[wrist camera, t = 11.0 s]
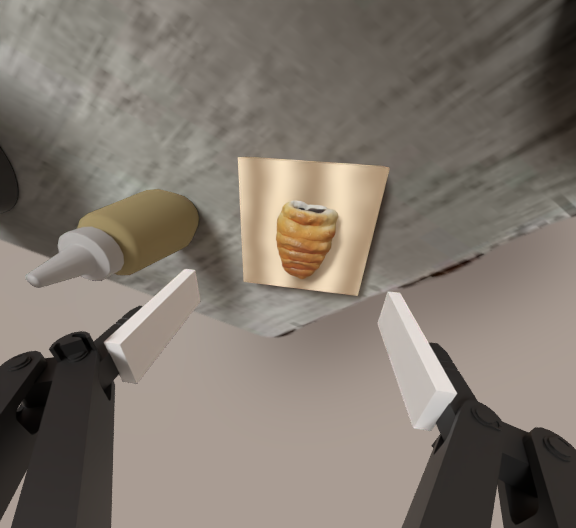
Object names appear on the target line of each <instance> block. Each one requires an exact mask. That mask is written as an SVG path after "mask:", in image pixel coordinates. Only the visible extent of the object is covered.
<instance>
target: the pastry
mask: <svg viewBox="0 0 576 528" xmlns="http://www.w3.org/2000/svg"><path fill="white" fill-rule="evenodd" d="M338 217H339V216H338V213H337V212H336V211H335V210H333V209H328V208H327V207H325V206H321V205H307V204H305V203H304V202H302V201H296V200H293V201H289V202H287V203H286V204H285V205H284V206H283V207H282V211H281V213H280V215H279V216H278V218H277V234H276V241H277V249H278V251H279V256H280V258H281V261H282V267H283V268H284V270H285V271H286V272H287V273H288V274H290V275H292V276H295V277H298V278H299V279H305V278H307V277H309V276H311V275H312V274H313V273H314V272H315V271H316V270H317V269H318V268H319V267H320V265H321V263H322V262H323V260H324V258H325V255H326V254H327V253H328V252H329V251H330V249H331V246H332V243H331V242H332V239H333V237H334V236H335V233H336V222H337V219H338Z"/></svg>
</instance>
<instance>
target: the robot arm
mask: <svg viewBox="0 0 576 528" xmlns="http://www.w3.org/2000/svg"><path fill="white" fill-rule="evenodd" d="M17 196H18V188H17V182H16V178H15V175H14V172H13V170H12V167H11V165H10V163H9V161H8V159H7V158H6V156H5V154H4V153H3V151H2V150H1V148H0V213H2V212H6V211H8V210H10V209H11V208H12V207H13V206H14V205H15V203H16V201H17ZM200 302H201V301H200V295H199V289H198V283H197V277H196V271H195V270H191V269H184V270H183V271H182V272H181V273H180V274H179V275H177V276H176V277H175V278H174V279H173V280H172V281H171V282H170V283H169V284H167V285H166V286H165V287H164V288H163V289H162V290H161V291H160V292H159V293H158V294H156V295H155V296H154V297H153V298H152V299H151V300H150V301H149V302H148V303H147V304H146V305H144V306H138V307H136V308H134V309H132V310H130V311H129V312H128V313H127V314H125V315H124V316H123V317H122V319H120V320H118V322H116V324H114V325H113V326H111V327H110V328H109V329H108V330H107V331H106V332H104V333H103V334H102V335H101V336H100V337H99V338H98V339H96V340H95V341H94V342H93V340H92V338H91V336H90V334H89V333H87V332H74V333H71V334H68V335H66V336H64V337H62V338H60V339H58V340H57V341H56V342H54V343H53V344H52V346H51V347H50V349H49V350H50V352H51V353H52V355H53V356H54V357H53V358H44V357H43V355H42V354H41V353H40V352H38V351H31V352H26V353H23V354H20V355H17V356H15V357H13V358H11V359H9V360H8V361H6V362H5V363H4V364H2V365H1V366H0V520H1V518H2V516H3V515H4V512H5V511H6V509H7V507H8V504H9V503H10V501H11V499H12V497H13V495H14V494H15V492H16V490H17V488H18V486H19V484H20V482H21V480H22V478H23V476H24V474H25V473H26V471H27V473H26V476H25V480H24V484H23V487H22V490H21V494H20V497H19V501H18V505H17V508H16V512H15V515H14V519H13V522H12V526H11V528H111V511H112V475H113V473H112V472H113V439H114V437H113V436H114V403H115V384H114V381H113V380H114V379H115V378H116V377H117V376H118V375H120V377H121V379H122V381H123V382H128V383H134V384H137V383H138V382H139V381H140V380H141V378H142V377H143V375H144V374H145V373H146V372H147V370H148V369H149V368H150V367H151V365H152V364H153V363H154V361H155V360H156V359H157V357H158V356H159V354H160V353H161V352H162V351H163V349H164V348H165V347H166V346H167V344H168V343H169V342H170V341H171V339H172V338H173V336H174V335H175V334H176V333H177V331H178V330H179V329H180V328H181V326H182V325H183V324H184V322H185V321H186V320H187V318H188V317H189V316H190V314H191V313H192V312H193V311H194V309H195V308H196V307H197V305H198V304H199V303H200ZM378 326H379V329H380V332H381V335H382V338H383V341H384V344H385V347H386V349H387V353H388V355H389V359H390V362H391V365H392V367H393V371H394V374H395V377H396V379H397V382H398V385H399V388H400V391H401V394H402V397H403V400H404V403H405V406H406V409H407V412H408V415H409V418H410V421H411V423H412V426H413V428H416V429H422V430H428V431H431V430H432V429H433V427H434V426H435V425H436V424H437V427H438V429H439V431H440V435H439V437H438V438H437V439H436V440H435V442H434V443H433V445H432V447H433V451H432V453H431V456H430V458H429V461H428V463H427V466H426V468H425V471H424V473H423V476H422V478H421V481H420V483H419V486H418V488H417V491H416V493H415V496H414V499H413V501H412V503H411V506H410V508H409V511H408V513H407V516H406V518H405V521H404V523H403V526H402V528H491V521H492V515H493V509H494V502H495V496H496V489H497V485H498V492H499V498H500V506H501V512H502V519H503V525H504V528H576V449H574V447H573V446H572V445H571V444H569V443H568V442H567V441H566V440H564V439H563V438H562V437H560V436H559V435H557V434H555V433H554V432H552V431H550V430H547V429H544V428H534V429H533V430H531V431H530V432H529V433H528V432H526V431H523V430H521V429H518V428H516V427H514V426H511V425H509V424H507V423H504V422H502V421H501V419H500V418H499V417H498V416H497V415H496V414H495V412H494V411H492V410H491V409H490V408H488V407H487V406H486V405H484V404H482V403H480V402H478V401H477V399H476V398H475V396H474V395H473V393H472V391H471V390H470V388H469V387H468V385H467V383H466V382H465V380H464V379H463V377H462V376H461V374H460V372H459V371H457V368H456V366H455V364H454V363H453V362H452V360H451V358H450V357H449V355H448V353H447V352H446V351H445V350H444V349H443V348H442V347H441V346H440V345H439V344H437V343H429V342H428V341H427V340H426V338H425V336H424V334H423V332H422V331H421V329H420V327H419V325H418V324H417V322H416V320H415V318H414V317H413V315H412V313H411V311H410V310H409V308H408V306H407V304H406V303H405V301H404V299H403V298H402V295H401V294H400V293H396V292H388V293H387V296H386V299H385V302H384V306H383V308H382V311H381V314H380V317H379V320H378ZM20 404H21V405H20ZM19 405H20V407H19ZM18 407H19V408H18Z"/></svg>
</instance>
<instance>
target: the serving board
mask: <svg viewBox="0 0 576 528" xmlns="http://www.w3.org/2000/svg"><path fill="white" fill-rule="evenodd" d="M238 169H239V191H240V213H241V234H242V256H243V278H244V282H250V283H259V284H267V285H275V286H283V287H291V288H299V289H307V290H315V291H323V292H331V293H339V294H348V295H356V296H358V293H359V289H360V285H361V281H362V277H363V273H364V269H365V265H366V261H367V257H368V253H369V249H370V245H371V241H372V237H373V233H374V229H375V225H376V221H377V217H378V213H379V209H380V205H381V201H382V197H383V193H384V189H385V185H386V181H387V177H388V173H389V169H390V168H388V167H384V166H374V165H360V164H345V163H330V162H315V161H301V160H286V159H271V158H257V157H238ZM293 200H296V201H302V202H304V203H305V204H307V205H321V206H325V207H327V208H328V209H333V210H335V211H336V212H337V213H338V216H339V217H338V219H337V222H336V233H335V236H334V237H333V239H332V242H331V243H332V246H331V249H330V251H329V252H328V253H327V254H326V255H325V258H324V260H323V262H322V263H321V265H320V267H319V268H318V269H317V270H316V271H315V272H314V273H313V274H312V275H311V276H309V277H307V278H305V279H299V278H298V277H295V276H292V275H290V274H288V273H287V272H286V271H285V270H284V268H283V267H282V261H281V258H280V256H279V251H278V249H277V241H276V234H277V218H278V216H279V215H280V213H281V211H282V207H283V206H284V205H285V204H286V203H287V202H289V201H293Z"/></svg>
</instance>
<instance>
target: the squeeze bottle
mask: <svg viewBox="0 0 576 528" xmlns="http://www.w3.org/2000/svg"><path fill="white" fill-rule="evenodd" d="M198 223H199V216H198V212H197V209H196V208H195V206H194V205H193V203H192V202H191V201H190V200H188V199H187V198H186V197H185V196H182V195H179V194H176V193H172V192H168V191H164V190H160V189H154V190H146V191H143V192H141V193H138V194H136V195H133V196H131V197H128V198H126V199H123V200H121V201H118V202H116V203H113V204H111V205H108V206H106V207H103V208H101V209H98V210H96V211H93V212H91V213H88V214H87V215H85V216H84V217H83V218H81V219H80V221H79V224H78V227H77V229H75V230H72V231H69V232H66V233H64V234H63V235H62V236H60V238H59V241H58V250H59V253H58V254H56V255H55V256H53V257H52V258H50V259H49V260H47V261H46V262H44V263H43V264H42V265H40V266H38V267H37V268H35V269H34V270H32V271H31V272H29V273H28V274H26V280H27V281H28V282H29V283H30V284H31V285H32V286H34V287H37V288H40V287H44V286H48V285H51V284H54V283H58V282H61V281H65V280H68V279H71V278H75V277H79V276H81V277H83V278H86V279H89V280H92V281H102V280H104V279H106V278H108V277H109V276H111V275H113V274H117V275H131V274H133V273H135V272H137V271H139V270H141V269H143V268H145V267H147V266H149V265H151V264H153V263H155V262H157V261H159V260H161V259H163V258H165V257H167V256H169V255H171V254H173V253H175V252H177V251H179V250H181V249H182V248H184V247H186V246H188V244H189V243H190V241H191V240H192V238H193V236H194V234H195V232H196V229H197V227H198Z"/></svg>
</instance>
